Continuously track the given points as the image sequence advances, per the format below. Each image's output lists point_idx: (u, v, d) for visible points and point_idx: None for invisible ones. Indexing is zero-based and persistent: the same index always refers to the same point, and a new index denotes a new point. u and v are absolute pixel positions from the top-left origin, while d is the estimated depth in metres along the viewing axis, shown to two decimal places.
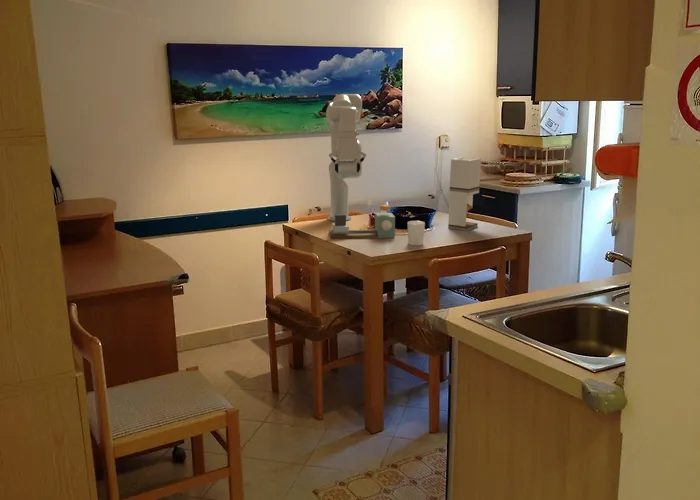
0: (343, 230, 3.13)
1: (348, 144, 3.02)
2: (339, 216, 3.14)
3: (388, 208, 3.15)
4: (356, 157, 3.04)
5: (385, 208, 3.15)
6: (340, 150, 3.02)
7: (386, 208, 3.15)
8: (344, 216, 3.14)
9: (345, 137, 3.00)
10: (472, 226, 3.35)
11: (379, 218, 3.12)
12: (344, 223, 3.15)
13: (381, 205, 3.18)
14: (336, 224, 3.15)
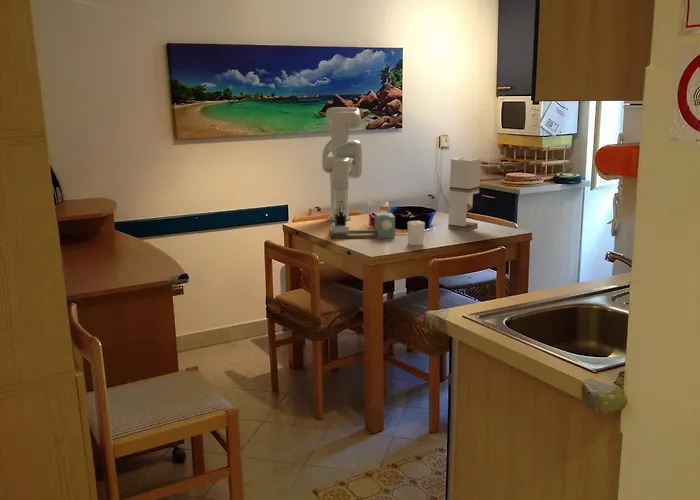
0: (343, 230, 3.13)
1: None
2: None
3: (388, 208, 3.15)
4: None
5: (385, 208, 3.15)
6: (345, 201, 3.11)
7: (386, 208, 3.15)
8: (344, 216, 3.14)
9: (347, 187, 3.11)
10: (472, 226, 3.35)
11: (379, 218, 3.12)
12: (344, 223, 3.15)
13: (381, 205, 3.18)
14: (336, 224, 3.15)
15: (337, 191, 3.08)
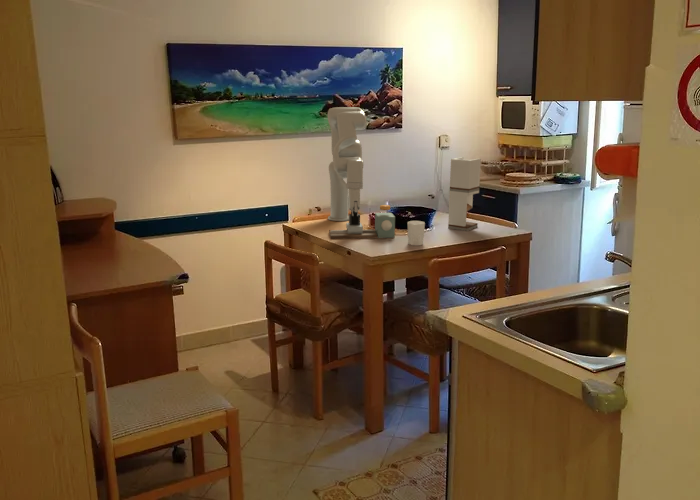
0: (357, 230, 3.14)
1: None
2: None
3: (388, 208, 3.15)
4: None
5: (385, 208, 3.15)
6: None
7: (386, 208, 3.15)
8: (358, 216, 3.15)
9: (362, 187, 3.12)
10: (472, 226, 3.35)
11: (379, 218, 3.12)
12: (358, 223, 3.16)
13: (381, 205, 3.18)
14: (350, 224, 3.16)
15: (351, 191, 3.09)
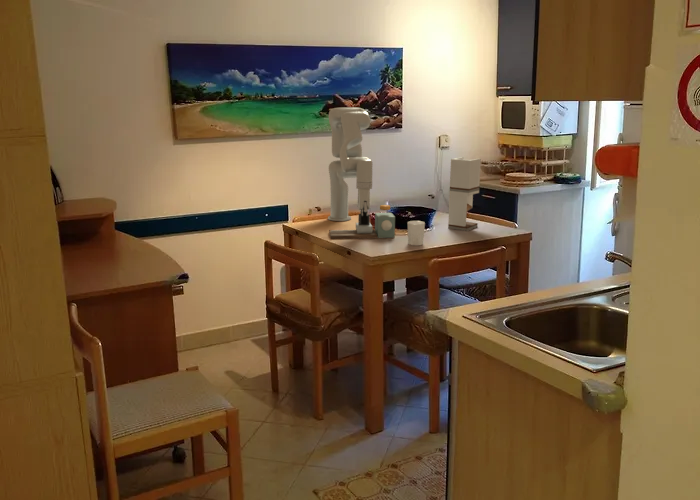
0: (367, 230, 3.14)
1: None
2: None
3: (388, 208, 3.15)
4: None
5: (385, 208, 3.15)
6: (369, 200, 3.12)
7: (386, 208, 3.15)
8: (368, 216, 3.16)
9: (371, 187, 3.13)
10: (472, 226, 3.35)
11: (379, 218, 3.12)
12: (368, 223, 3.16)
13: (381, 205, 3.18)
14: (360, 224, 3.16)
15: (361, 191, 3.09)
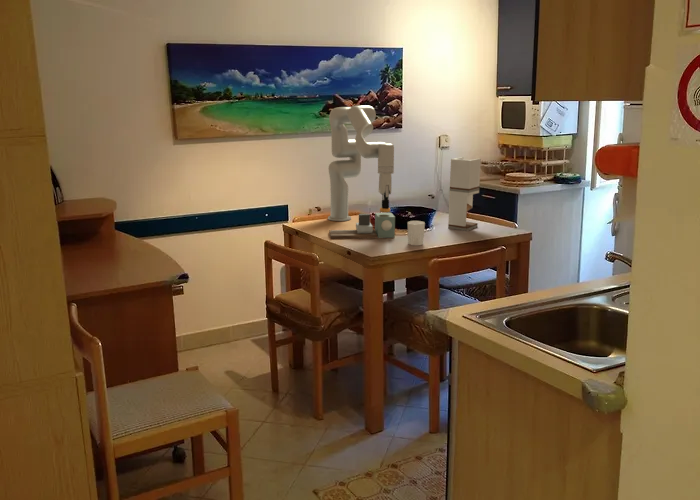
0: (367, 230, 3.14)
1: None
2: (363, 216, 3.15)
3: (388, 210, 3.15)
4: None
5: (385, 210, 3.15)
6: None
7: (386, 210, 3.15)
8: (368, 216, 3.16)
9: (393, 172, 3.12)
10: (472, 226, 3.35)
11: (379, 218, 3.12)
12: (368, 223, 3.16)
13: None
14: (360, 224, 3.16)
15: (383, 175, 3.09)
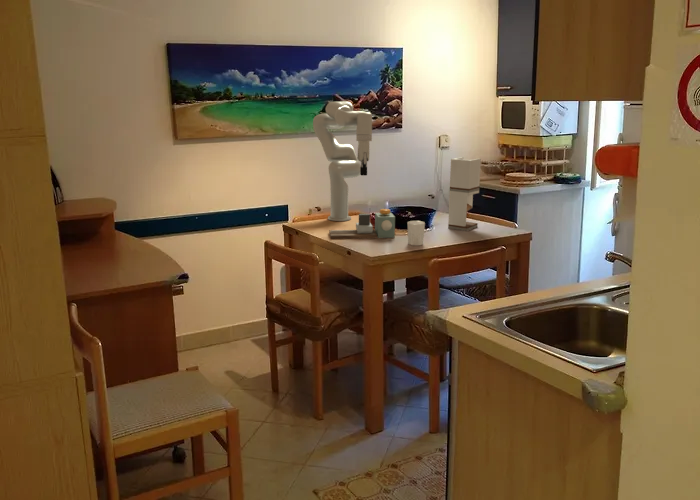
0: (367, 230, 3.14)
1: None
2: (363, 216, 3.15)
3: (388, 212, 3.16)
4: None
5: (385, 212, 3.15)
6: None
7: (386, 212, 3.15)
8: (368, 216, 3.16)
9: (371, 139, 3.23)
10: (472, 226, 3.35)
11: (379, 218, 3.12)
12: (368, 223, 3.16)
13: (381, 209, 3.18)
14: (360, 224, 3.16)
15: (361, 143, 3.20)
